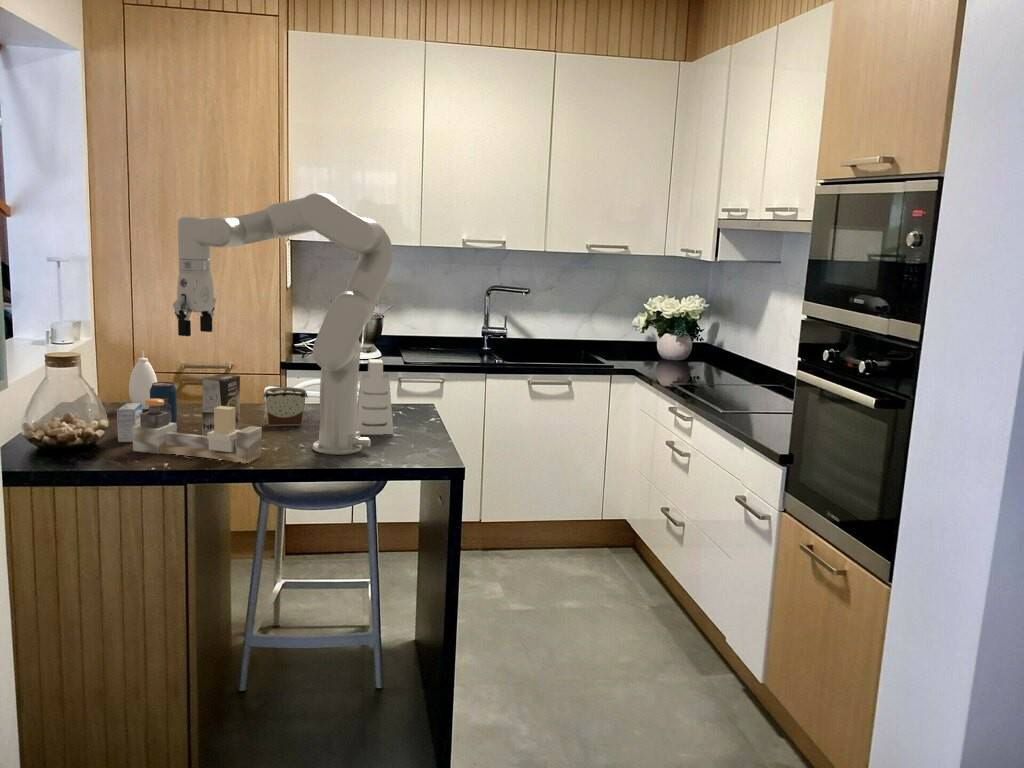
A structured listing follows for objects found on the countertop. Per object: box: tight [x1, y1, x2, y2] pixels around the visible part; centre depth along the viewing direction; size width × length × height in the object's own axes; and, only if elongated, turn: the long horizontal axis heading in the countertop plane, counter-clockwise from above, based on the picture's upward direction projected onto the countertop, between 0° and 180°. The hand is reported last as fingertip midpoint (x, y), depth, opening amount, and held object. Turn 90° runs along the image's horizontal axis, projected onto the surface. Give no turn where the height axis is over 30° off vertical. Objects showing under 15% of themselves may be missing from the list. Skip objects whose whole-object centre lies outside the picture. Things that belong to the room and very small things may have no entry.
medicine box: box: [116, 402, 143, 443], centre depth 235 cm, size 8×4×9 cm, turn 9°
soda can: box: [150, 381, 178, 424], centre depth 249 cm, size 7×7×12 cm
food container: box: [262, 386, 309, 427], centre depth 262 cm, size 12×6×10 cm, turn 108°
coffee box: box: [201, 373, 241, 436], centre depth 242 cm, size 9×6×16 cm
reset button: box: [145, 399, 164, 415], centre depth 226 cm, size 4×4×4 cm
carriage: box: [207, 406, 241, 452], centre depth 223 cm, size 6×6×10 cm
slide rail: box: [132, 410, 263, 464], centre depth 225 cm, size 30×8×9 cm, turn 78°
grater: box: [356, 358, 394, 435], centre depth 259 cm, size 10×10×20 cm
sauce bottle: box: [128, 349, 158, 410], centre depth 267 cm, size 8×8×18 cm
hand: (195, 333), depth 233 cm, fingers open, 9 cm apart
